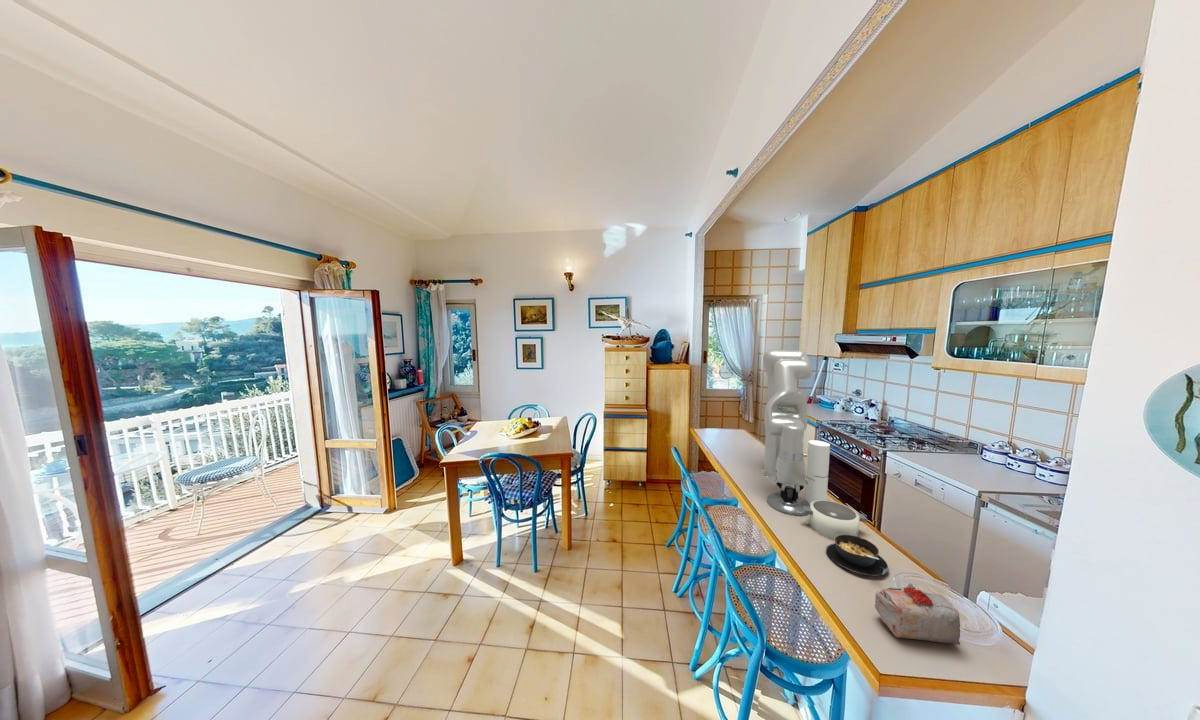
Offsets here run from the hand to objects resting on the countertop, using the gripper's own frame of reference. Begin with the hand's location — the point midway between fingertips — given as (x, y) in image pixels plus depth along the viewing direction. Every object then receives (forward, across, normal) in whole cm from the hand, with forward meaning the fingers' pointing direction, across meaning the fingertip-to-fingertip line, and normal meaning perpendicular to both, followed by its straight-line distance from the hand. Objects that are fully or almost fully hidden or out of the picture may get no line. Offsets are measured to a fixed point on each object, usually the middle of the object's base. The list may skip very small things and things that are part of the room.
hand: (788, 499), depth 131 cm
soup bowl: (+3, -11, +30) cm, 32 cm away
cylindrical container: (+3, -11, -5) cm, 13 cm away
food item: (+2, -14, +53) cm, 55 cm away
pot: (+3, -11, +13) cm, 17 cm away
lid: (+2, 0, 0) cm, 2 cm away
